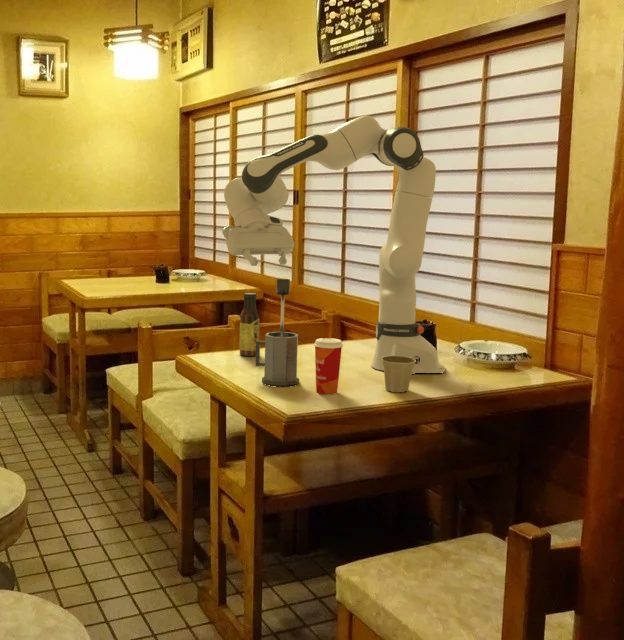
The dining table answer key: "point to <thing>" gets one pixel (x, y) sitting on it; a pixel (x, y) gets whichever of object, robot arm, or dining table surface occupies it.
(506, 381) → the dining table surface
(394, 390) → the flower pot
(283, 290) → the plunger
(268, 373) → the press pot
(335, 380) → the paper cup
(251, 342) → the sauce bottle
